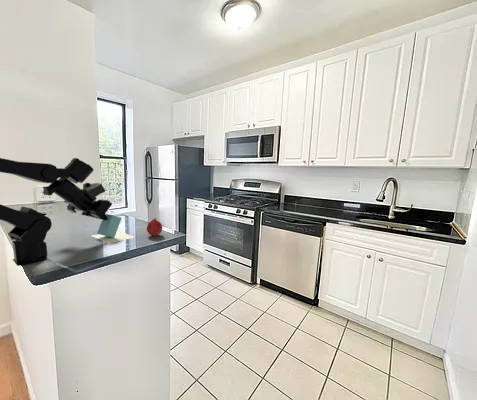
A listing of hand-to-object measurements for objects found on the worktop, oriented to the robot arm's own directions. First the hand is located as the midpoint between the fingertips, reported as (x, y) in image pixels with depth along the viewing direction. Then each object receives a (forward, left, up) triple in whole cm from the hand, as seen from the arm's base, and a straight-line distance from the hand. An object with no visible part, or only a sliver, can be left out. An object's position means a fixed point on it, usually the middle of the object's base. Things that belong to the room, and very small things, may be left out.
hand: (106, 219), depth 86 cm
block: (-1, 0, -6) cm, 6 cm away
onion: (+13, -12, -8) cm, 19 cm away
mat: (+2, 0, -8) cm, 8 cm away
